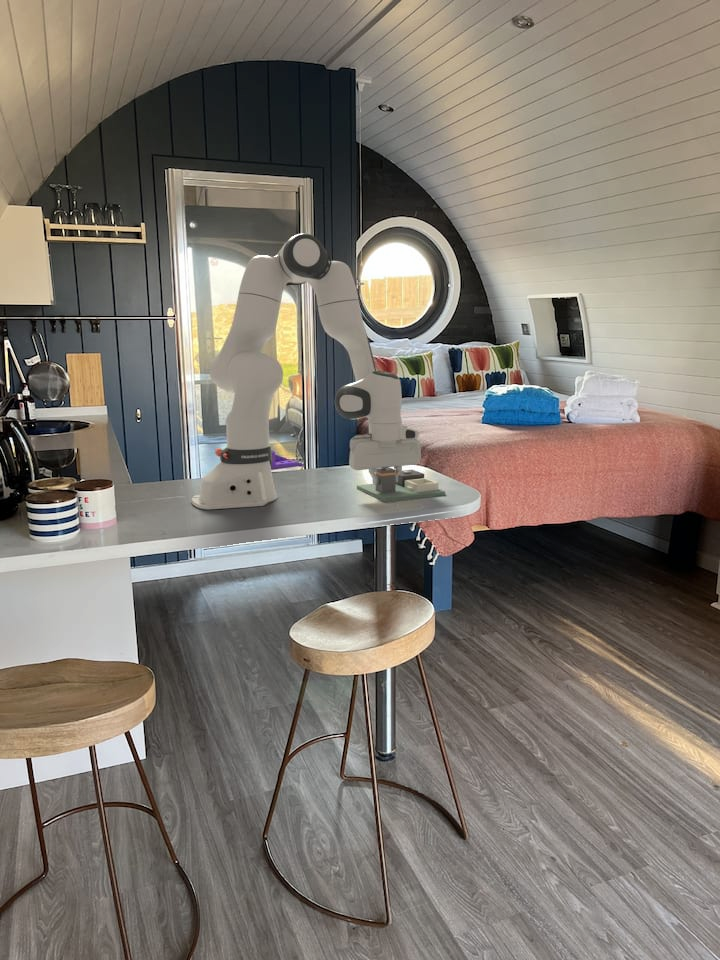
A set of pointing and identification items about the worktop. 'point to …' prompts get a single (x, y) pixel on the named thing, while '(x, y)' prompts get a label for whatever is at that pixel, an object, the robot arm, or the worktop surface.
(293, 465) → the purple shoe
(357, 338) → the robot arm
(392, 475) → the grey upright block
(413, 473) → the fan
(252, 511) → the worktop surface
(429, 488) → the cream shallow tray
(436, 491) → the board
